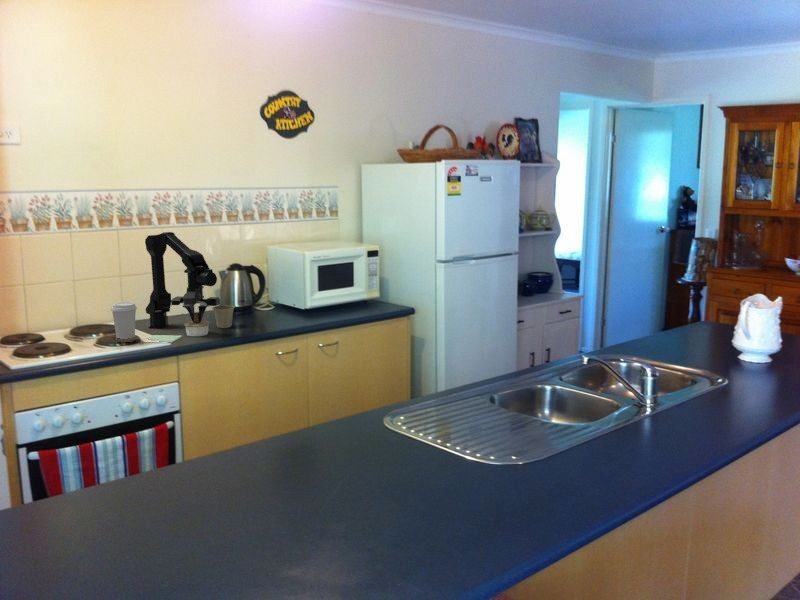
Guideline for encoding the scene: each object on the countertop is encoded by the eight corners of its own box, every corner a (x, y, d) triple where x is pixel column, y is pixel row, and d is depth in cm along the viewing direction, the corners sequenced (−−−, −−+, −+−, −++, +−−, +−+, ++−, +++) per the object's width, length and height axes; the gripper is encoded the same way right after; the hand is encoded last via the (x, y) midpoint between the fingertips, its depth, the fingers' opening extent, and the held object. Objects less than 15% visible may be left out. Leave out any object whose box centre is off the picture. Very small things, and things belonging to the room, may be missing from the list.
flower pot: (222, 330, 311) (221, 310, 309) (208, 327, 316) (207, 307, 315) (239, 326, 318) (239, 306, 317) (225, 323, 324) (224, 304, 322)
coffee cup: (107, 342, 286) (105, 304, 284) (126, 338, 295) (124, 301, 292) (124, 345, 282) (122, 306, 280) (144, 340, 290) (141, 303, 288)
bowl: (183, 336, 298) (183, 326, 298) (191, 331, 307) (190, 322, 306) (203, 336, 298) (203, 327, 297) (210, 332, 306) (210, 322, 305)
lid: (180, 326, 297) (179, 315, 296) (189, 322, 307) (189, 310, 306) (204, 327, 296) (203, 315, 295) (212, 322, 306) (212, 311, 305)
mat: (141, 342, 287) (141, 340, 287) (153, 336, 298) (153, 335, 297) (171, 343, 286) (171, 341, 286) (182, 337, 297) (182, 335, 296)
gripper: (165, 286, 292) (166, 325, 294) (210, 287, 290) (212, 326, 292) (175, 282, 302) (177, 320, 305) (219, 283, 301) (221, 320, 303)
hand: (196, 321), depth 301 cm, fingers closed on lid, 2 cm apart
